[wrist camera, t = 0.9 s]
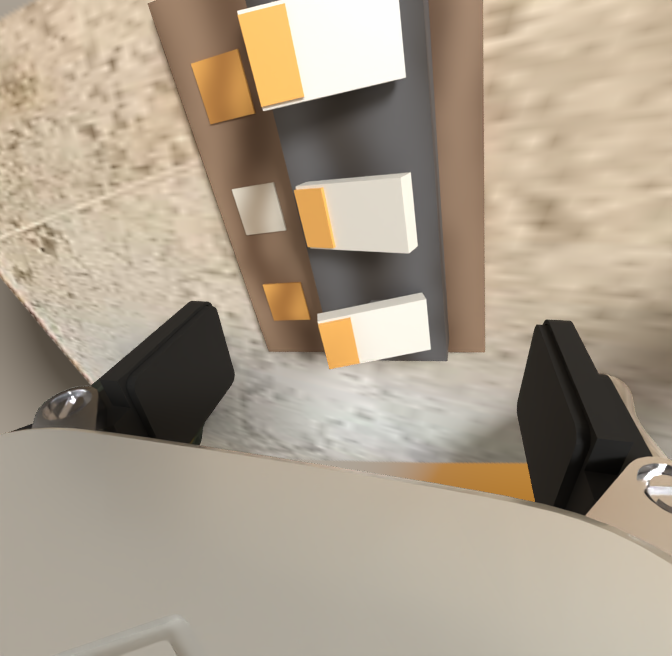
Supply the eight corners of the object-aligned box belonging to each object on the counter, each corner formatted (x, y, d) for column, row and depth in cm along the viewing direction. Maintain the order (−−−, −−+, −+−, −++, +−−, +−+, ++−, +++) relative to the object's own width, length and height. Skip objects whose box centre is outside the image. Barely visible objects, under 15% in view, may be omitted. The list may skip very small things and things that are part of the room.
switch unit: (481, -124, 20) (484, -184, 15) (484, 344, 35) (486, 386, 30) (158, 6, 28) (94, -9, 23) (273, 345, 42) (248, 378, 38)
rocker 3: (422, 292, 28) (427, 300, 27) (426, 341, 31) (431, 351, 29) (317, 313, 29) (317, 323, 27) (329, 360, 31) (329, 371, 30)
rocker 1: (391, -22, 19) (397, -31, 18) (401, 79, 22) (406, 77, 20) (241, 16, 20) (236, 9, 19) (265, 111, 22) (262, 111, 21)
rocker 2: (410, 172, 22) (398, 178, 21) (417, 246, 24) (407, 255, 23) (306, 181, 26) (293, 187, 25) (320, 242, 29) (308, 249, 28)
